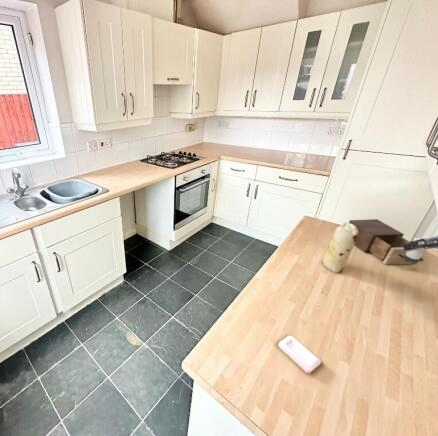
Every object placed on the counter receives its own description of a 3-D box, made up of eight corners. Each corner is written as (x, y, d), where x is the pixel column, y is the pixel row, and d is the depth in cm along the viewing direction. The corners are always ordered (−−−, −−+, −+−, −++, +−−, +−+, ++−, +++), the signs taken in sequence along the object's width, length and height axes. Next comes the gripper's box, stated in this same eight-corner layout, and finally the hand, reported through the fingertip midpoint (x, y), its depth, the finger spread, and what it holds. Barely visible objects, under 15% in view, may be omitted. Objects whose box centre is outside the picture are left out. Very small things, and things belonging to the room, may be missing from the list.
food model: (344, 276, 95) (365, 233, 86) (325, 272, 98) (343, 230, 88) (337, 261, 103) (356, 221, 94) (319, 258, 106) (335, 218, 96)
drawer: (424, 270, 97) (435, 254, 93) (394, 271, 96) (404, 255, 93) (387, 246, 111) (394, 231, 108) (361, 247, 111) (368, 232, 107)
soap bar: (307, 376, 63) (310, 370, 62) (276, 347, 70) (278, 342, 69) (319, 366, 65) (322, 360, 64) (288, 339, 73) (290, 333, 71)
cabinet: (393, 251, 109) (404, 234, 104) (364, 252, 109) (373, 235, 104) (368, 235, 121) (377, 219, 116) (342, 236, 120) (349, 220, 116)
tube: (411, 256, 87) (423, 238, 83) (420, 263, 84) (433, 244, 80) (400, 256, 88) (411, 237, 84) (408, 262, 84) (420, 243, 81)
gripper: (491, 223, 70) (425, 236, 87) (444, 225, 70) (387, 237, 87) (503, 249, 68) (433, 256, 85) (454, 251, 68) (394, 258, 84)
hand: (410, 247), depth 86 cm, fingers closed on tube, 3 cm apart
